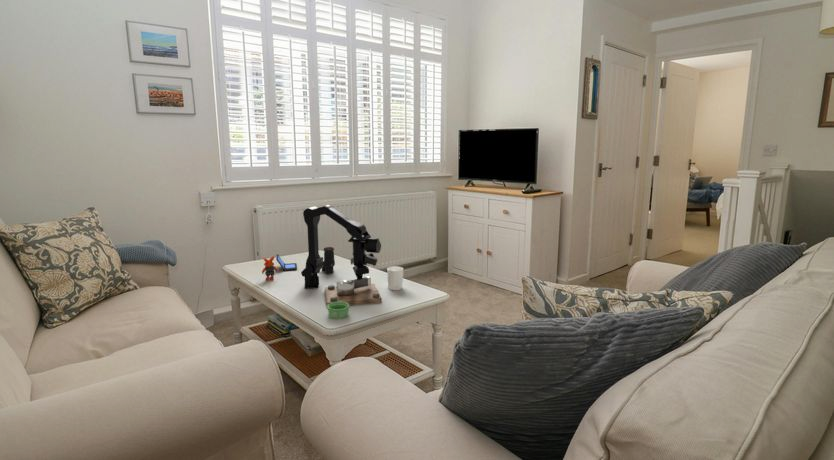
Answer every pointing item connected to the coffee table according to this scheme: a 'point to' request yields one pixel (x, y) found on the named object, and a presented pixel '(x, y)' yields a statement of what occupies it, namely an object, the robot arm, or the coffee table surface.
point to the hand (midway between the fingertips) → (360, 282)
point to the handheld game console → (286, 265)
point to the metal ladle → (352, 285)
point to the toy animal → (269, 268)
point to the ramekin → (338, 309)
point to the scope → (328, 260)
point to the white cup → (395, 277)
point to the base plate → (354, 295)
